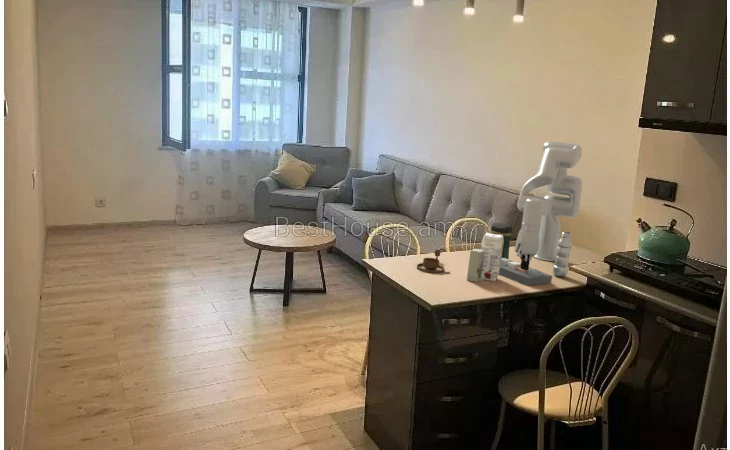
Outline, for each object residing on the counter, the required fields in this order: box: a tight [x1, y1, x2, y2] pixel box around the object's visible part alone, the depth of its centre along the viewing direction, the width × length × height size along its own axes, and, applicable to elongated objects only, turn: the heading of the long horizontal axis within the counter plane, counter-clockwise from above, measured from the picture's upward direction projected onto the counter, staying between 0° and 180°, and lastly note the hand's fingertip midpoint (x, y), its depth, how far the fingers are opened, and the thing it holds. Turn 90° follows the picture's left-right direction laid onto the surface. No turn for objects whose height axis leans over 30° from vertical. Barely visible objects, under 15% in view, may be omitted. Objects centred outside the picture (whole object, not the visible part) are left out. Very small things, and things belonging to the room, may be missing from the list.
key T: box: [517, 268, 529, 274], centre depth 275 cm, size 4×4×2 cm
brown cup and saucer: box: [416, 249, 451, 276], centre depth 278 cm, size 18×20×6 cm
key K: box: [501, 258, 512, 265], centre depth 284 cm, size 4×4×2 cm
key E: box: [528, 268, 543, 277], centre depth 270 cm, size 4×4×2 cm
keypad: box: [499, 260, 553, 287], centre depth 278 cm, size 14×25×3 cm, turn 33°
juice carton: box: [480, 232, 504, 282], centre depth 268 cm, size 8×9×19 cm
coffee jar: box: [490, 222, 513, 260], centre depth 296 cm, size 10×8×19 cm
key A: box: [507, 261, 521, 269], centre depth 280 cm, size 4×4×2 cm
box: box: [466, 248, 484, 283], centre depth 264 cm, size 5×4×13 cm
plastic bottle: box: [552, 231, 573, 278], centre depth 282 cm, size 6×7×20 cm
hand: (524, 269), depth 275 cm, fingers closed
